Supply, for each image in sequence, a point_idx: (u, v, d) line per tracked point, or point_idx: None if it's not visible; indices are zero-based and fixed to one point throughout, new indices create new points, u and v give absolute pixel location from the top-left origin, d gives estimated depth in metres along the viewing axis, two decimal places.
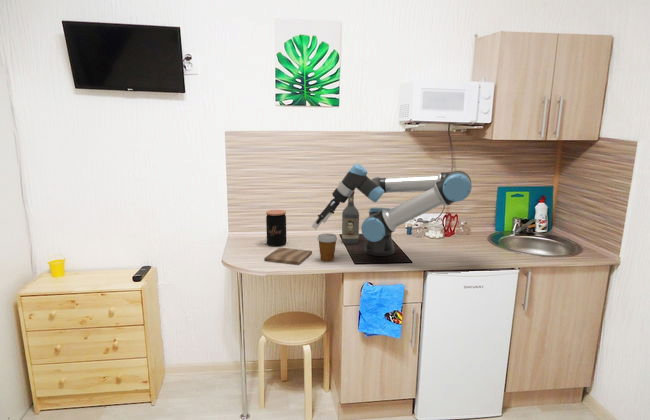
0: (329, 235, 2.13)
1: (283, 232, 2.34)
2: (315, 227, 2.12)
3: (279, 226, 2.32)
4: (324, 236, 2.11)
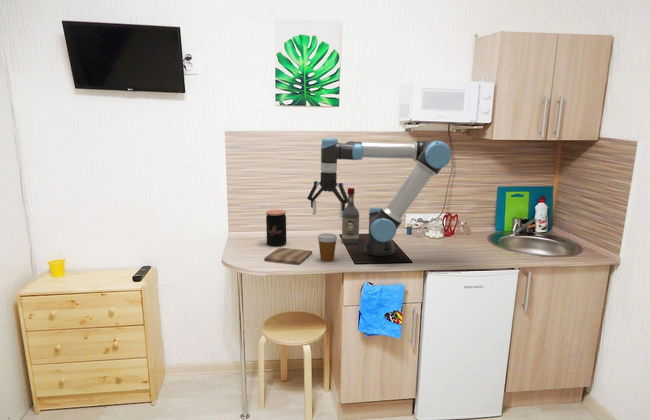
0: (329, 235, 2.13)
1: (283, 232, 2.34)
2: (342, 215, 2.07)
3: (279, 226, 2.32)
4: (324, 236, 2.11)
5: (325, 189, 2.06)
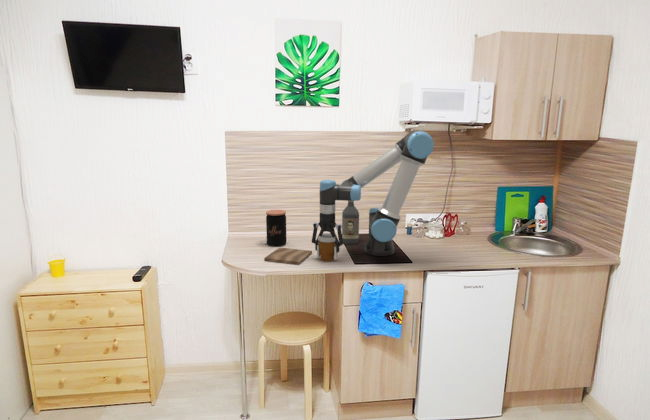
0: (329, 235, 2.13)
1: (283, 232, 2.34)
2: (336, 256, 2.12)
3: (279, 226, 2.32)
4: (324, 236, 2.11)
5: (324, 229, 2.10)
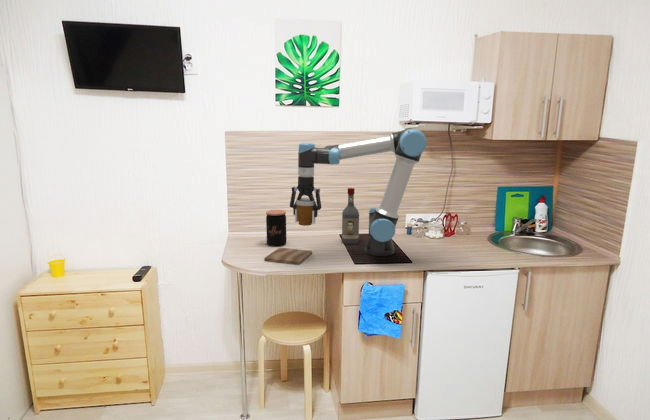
0: (308, 199, 2.11)
1: (283, 232, 2.34)
2: (314, 221, 2.10)
3: (279, 226, 2.32)
4: (302, 200, 2.09)
5: (302, 193, 2.08)
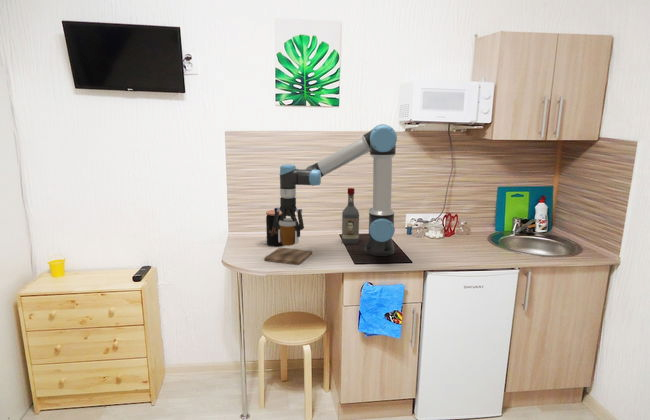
0: (290, 220, 2.14)
1: None
2: (297, 241, 2.14)
3: None
4: (285, 220, 2.12)
5: (285, 214, 2.11)
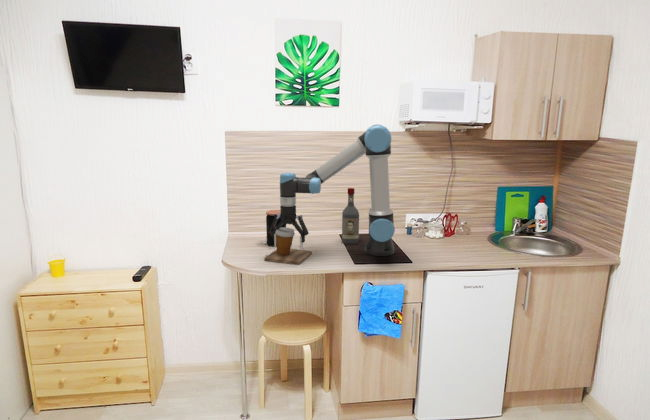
0: (287, 229, 2.16)
1: None
2: (302, 246, 2.14)
3: None
4: (282, 230, 2.14)
5: (285, 222, 2.12)
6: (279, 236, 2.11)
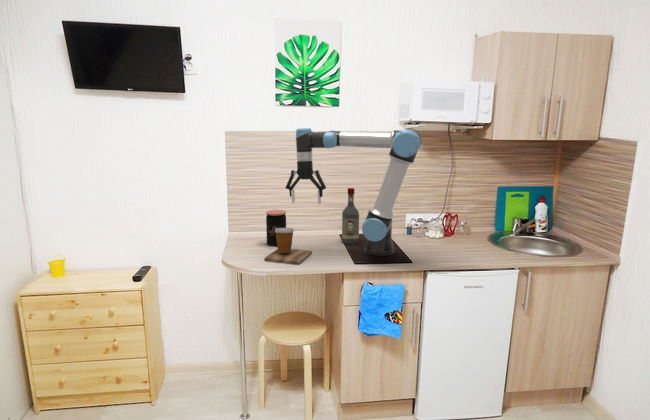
0: None
1: None
2: (320, 201, 2.16)
3: (279, 226, 2.32)
4: None
5: (302, 177, 2.14)
6: (279, 233, 2.13)
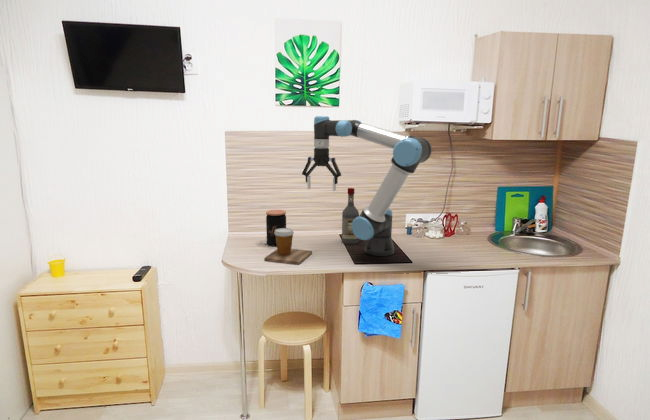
0: (286, 230, 2.17)
1: None
2: (335, 188, 2.21)
3: (279, 226, 2.32)
4: (281, 230, 2.15)
5: (318, 164, 2.20)
6: (278, 236, 2.12)
